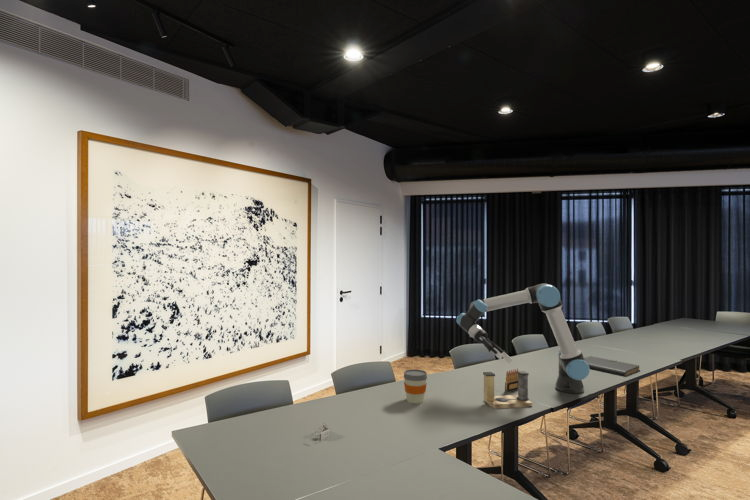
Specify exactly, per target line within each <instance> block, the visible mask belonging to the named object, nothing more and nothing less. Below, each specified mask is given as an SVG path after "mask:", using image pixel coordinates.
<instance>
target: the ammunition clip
mask: <svg viewBox="0 0 750 500" xmlns="http://www.w3.org/2000/svg"><path fill="white" fill-rule="evenodd" d="M517 371H519V369H518V368H514V369H510V370H506V375H505V382H504V383H505V384H504V391H505V392H506V393H510V392H514V391H518V390H517V389H518V373H517ZM513 390H514V391H513Z"/></svg>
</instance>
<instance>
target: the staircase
mask: <svg viewBox="0 0 750 500" xmlns="http://www.w3.org/2000/svg"><path fill="white" fill-rule="evenodd" d="M321 429H323V430H322V431H321V432H319V433H318V432H315V431H318V430H321ZM311 432H312V433H313V434H316V435H319V440H320V442H323V441H325V440H328V439H329V438H330V428H328V425H327V423H324V422H323V423H322V426H321V427H319V428H316V429H314V430H312V431H311Z"/></svg>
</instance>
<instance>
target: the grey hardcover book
mask: <svg viewBox="0 0 750 500" xmlns="http://www.w3.org/2000/svg"><path fill="white" fill-rule="evenodd" d="M584 359H585V361H586V362H587V364H588V365H589V368H590V370H594V371H598V372H604V373H608V374H613V375H617V376H621V377H627V376H629V375H631V374H634V373H636V372H639V371H640V365H637V364H633V363H628V362H623V361H617V360H612V359H608V358H602V357H597V356H592V355H590V356H586V357H584Z"/></svg>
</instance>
